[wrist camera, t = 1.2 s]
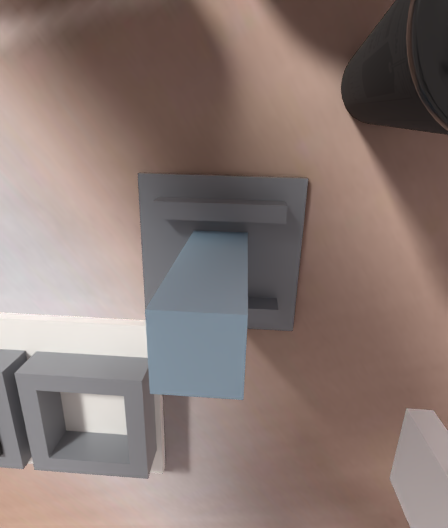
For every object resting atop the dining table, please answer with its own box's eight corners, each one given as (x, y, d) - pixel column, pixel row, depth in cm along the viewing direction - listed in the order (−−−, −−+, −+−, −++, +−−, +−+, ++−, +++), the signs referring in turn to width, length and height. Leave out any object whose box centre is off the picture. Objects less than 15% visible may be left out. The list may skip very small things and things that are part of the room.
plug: (193, 230, 26) (145, 309, 14) (247, 232, 26) (247, 315, 13) (194, 280, 27) (149, 393, 15) (245, 282, 27) (243, 399, 15)
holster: (139, 172, 25) (128, 175, 23) (307, 178, 24) (313, 181, 22) (147, 320, 29) (139, 335, 27) (292, 327, 28) (296, 344, 26)
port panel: (-91, 307, 30) (-144, 333, 26) (159, 320, 29) (144, 350, 25) (-48, 448, 35) (-87, 489, 31) (165, 464, 34) (154, 508, 30)
